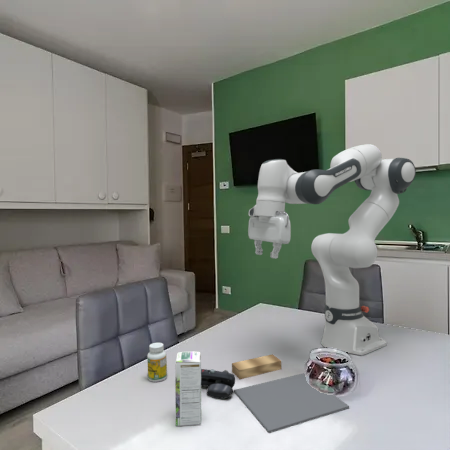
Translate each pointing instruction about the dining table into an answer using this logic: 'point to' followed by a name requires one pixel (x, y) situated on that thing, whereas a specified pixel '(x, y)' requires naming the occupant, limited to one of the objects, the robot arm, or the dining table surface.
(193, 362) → the syrup box
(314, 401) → the rubber mat
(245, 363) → the wooden rectangular block
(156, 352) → the supplement bottle
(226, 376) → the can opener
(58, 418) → the dining table surface
